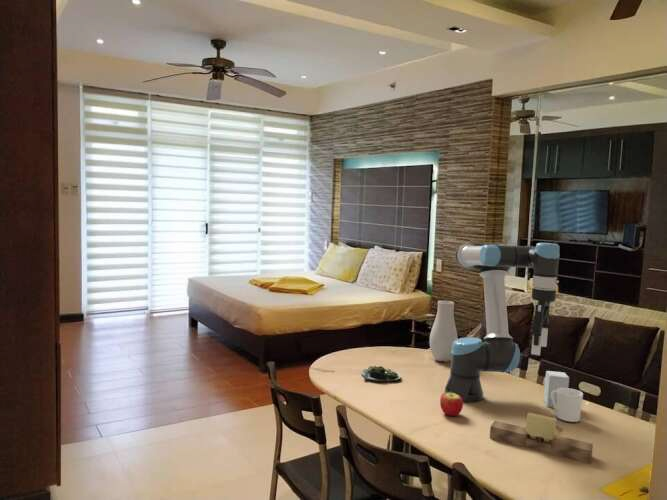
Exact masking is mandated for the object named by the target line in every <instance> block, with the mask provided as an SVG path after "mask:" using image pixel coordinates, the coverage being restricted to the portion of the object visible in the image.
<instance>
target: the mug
mask: <svg viewBox="0 0 667 500" xmlns="http://www.w3.org/2000/svg"><path fill="white" fill-rule="evenodd" d="M555 392H557V406H556V404H555V401H554V397H553V393H555ZM551 398H552V402H553V405H554V408H553V409H554V410H555V411H556V412H555V417H556V419H557V420H559V421H561V422H564V423H568V424H577V423H580V420H581V413H582V405H583V404H582V403H583V398H584V393H583V392H582V391H580V390H577V389H574V388H569V387H568V388H558V389H557V391H552V392H551Z"/></svg>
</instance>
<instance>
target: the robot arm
mask: <svg viewBox="0 0 667 500" xmlns="http://www.w3.org/2000/svg"><path fill="white" fill-rule="evenodd" d="M560 256H561V255H560V245H559V244H558V243H551V242H538V243H536V245H535V246H534V245H525V246H523V245H506V244H504V243H498V242H497V243H495V242H494V243H493V242H492V243H489V242H488V243H487V242H486V243H485V242H466V243H463V244H461V245H459V246H458V247H457V248H456V250H455V252H454V260H455V261H456V263H457V264H458V265H459V266H460V267H462V268H464V269H467V270H476V271H478V272H479V273H478V274H479V275H478V276H480V277H481V278H482V279H483V293H484V308H485V311H484V313H485V324H486V325H485V326H486V327H485V328H486V335H485V336H484V337H483V338H482V339H483V340H482V339H481V338H479V337H470V336H467V337H460V338H458V339H457V340H455V341H454V342H453V345H452V351H451V353H452V356H451V360H450V373H449V374H450V375H449V377H448V380H447V382H446V384H445V387H444V393H455V394H457V395H459V396H460V397H461V398H462V400H463V403H464V402H465V403H476V402H477V403H478V402H480V401H482V400H483V398H484V391H483V388H482V383H481V380H480V377H481V372H486V373H487V372H489V373H490V372H491V373H494V372H495V373H510V372H511V373H512V372H514V371H515V370H516V369H517V368H518V365H519V363H520V358H521V351H520V348H519V345H518V343H516V342H514V338H513V337H512V336H511V335H510V334H509V321H508V309H507V308H508V307H507V295H506V284H505V283H506V281H505V278H506V276H508V274H509V273H508V272H509V271H510V270H511V269H512V268H525V269H527V268H528V269H529V268H530V269H533V275H532V284H531V285H532V287H533V288H532V290H531V299H532V300H534V301H538V302H537V304H535V307H534V308H535V311H534V318H533V324H532V329H531V331H530V335H531V337H532V338H531V349H530V350H531V351H530V352H531V353H530V354H531V355H535V356H539V357H540V356H541V349H542V348H543V347H544V348H547V345H548V335H549V334H548V333H549V332H548V331H549V329H551V324H550V308H551V307H550V303H552V302H555V301H556V298H557V295H556V294H557V291H556V289H557V284H559V282H560V281H559V280H558V271H559V262H560ZM448 387H449V388H450V389H449V388H448ZM450 390H451V391H450Z"/></svg>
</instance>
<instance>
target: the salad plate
mask: <svg viewBox="0 0 667 500" xmlns="http://www.w3.org/2000/svg"><path fill="white" fill-rule="evenodd" d="M360 372H361V375H362V376H363V379H365V380H367V381H369V382H371V383H377V384H389V383H388V382H394V383H397V381H398V382H400V381H401V380H402V375H401V374H399V373H398V372H397V371H395V370H393V369H392V368H385V367H384V366H381V365H380V366H379V365H378V366H377V365H374V366H372V365H370V366H368V368H367V369H362V370H360ZM385 372H387V373H385ZM399 380H400V381H399Z"/></svg>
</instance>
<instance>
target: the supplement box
mask: <svg viewBox="0 0 667 500" xmlns="http://www.w3.org/2000/svg"><path fill="white" fill-rule="evenodd" d="M569 385H570V376H569V375H567V373H566V372H562V371H552V370H546V371H545V380H544V393H543V402H544V403H545V406H546V407H548V408H553V409H555V408H554V405H553V402H552V398H551V392H552V391H557V389H558V388H569ZM553 397H554V401H555V404H556V406H557V392H555V393H553Z"/></svg>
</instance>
